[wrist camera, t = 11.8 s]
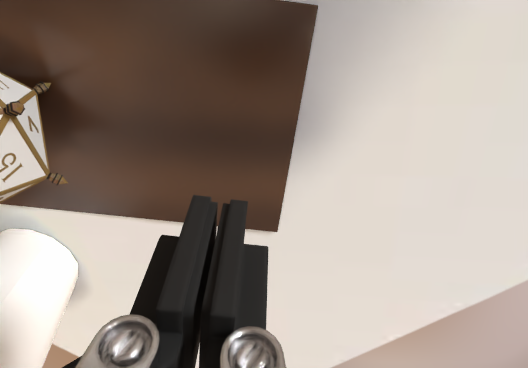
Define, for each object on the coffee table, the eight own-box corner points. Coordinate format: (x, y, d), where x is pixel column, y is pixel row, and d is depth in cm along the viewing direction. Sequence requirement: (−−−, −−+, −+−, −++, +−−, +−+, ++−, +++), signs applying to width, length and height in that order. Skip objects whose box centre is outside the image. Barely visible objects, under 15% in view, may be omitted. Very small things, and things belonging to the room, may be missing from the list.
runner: (-242, -70, 15) (-245, -70, 15) (317, 5, 16) (318, 5, 16) (-99, 192, 22) (-101, 193, 22) (277, 231, 24) (277, 232, 24)
